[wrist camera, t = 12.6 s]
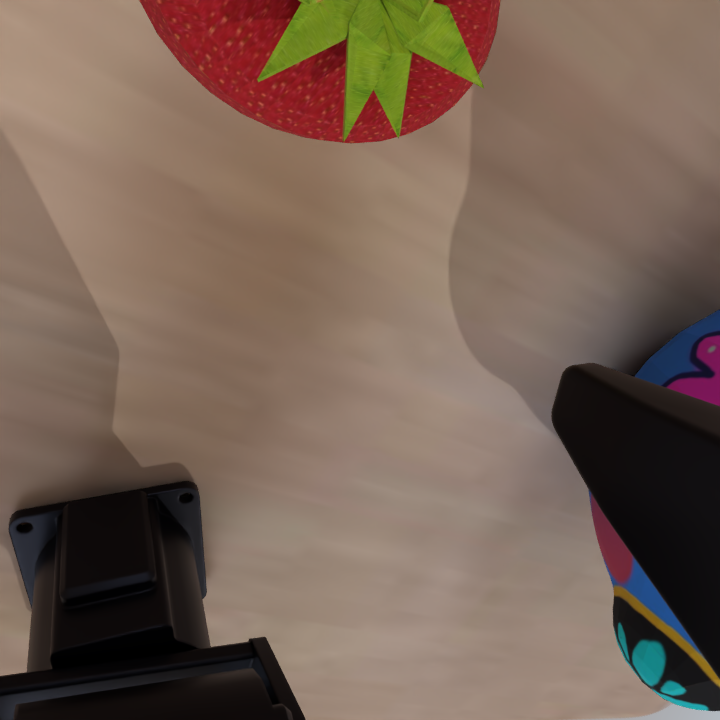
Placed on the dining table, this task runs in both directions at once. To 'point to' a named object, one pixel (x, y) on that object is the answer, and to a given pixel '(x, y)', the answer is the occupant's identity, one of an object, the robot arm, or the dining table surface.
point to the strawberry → (332, 59)
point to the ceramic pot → (631, 585)
